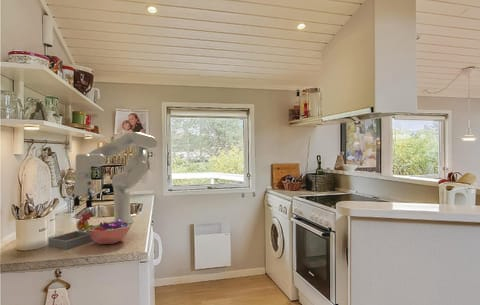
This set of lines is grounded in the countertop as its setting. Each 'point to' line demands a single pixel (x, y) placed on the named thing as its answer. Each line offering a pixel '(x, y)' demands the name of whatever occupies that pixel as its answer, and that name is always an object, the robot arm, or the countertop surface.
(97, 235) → the cell model
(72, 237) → the grey picture frame
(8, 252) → the countertop surface
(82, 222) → the bird rattle
